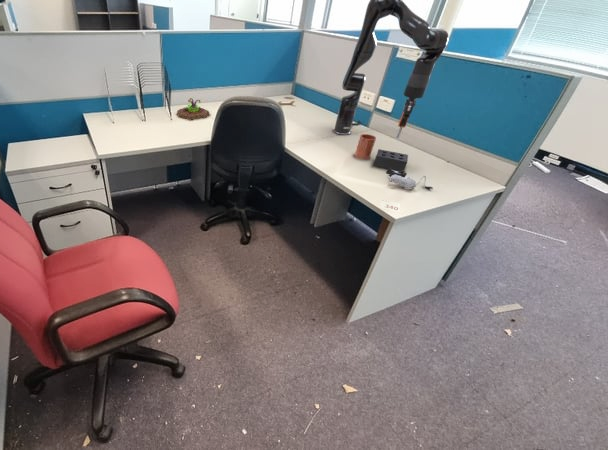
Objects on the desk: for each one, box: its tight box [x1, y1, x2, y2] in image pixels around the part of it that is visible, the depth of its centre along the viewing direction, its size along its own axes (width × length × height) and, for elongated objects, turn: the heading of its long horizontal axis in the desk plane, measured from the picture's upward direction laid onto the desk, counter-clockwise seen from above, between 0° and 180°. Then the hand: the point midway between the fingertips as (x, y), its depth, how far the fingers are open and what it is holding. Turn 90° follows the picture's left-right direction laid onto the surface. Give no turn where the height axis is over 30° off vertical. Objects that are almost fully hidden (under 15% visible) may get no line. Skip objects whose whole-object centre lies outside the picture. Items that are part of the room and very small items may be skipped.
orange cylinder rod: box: [395, 111, 410, 139], centre depth 149 cm, size 3×3×12 cm
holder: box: [372, 148, 409, 172], centre depth 160 cm, size 10×13×6 cm
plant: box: [176, 97, 210, 121], centre depth 219 cm, size 20×20×11 cm
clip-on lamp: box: [385, 169, 434, 191], centre depth 145 cm, size 12×6×18 cm
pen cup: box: [354, 133, 377, 161], centre depth 167 cm, size 7×7×11 cm
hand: (402, 124), depth 149 cm, fingers closed on orange cylinder rod, 3 cm apart
